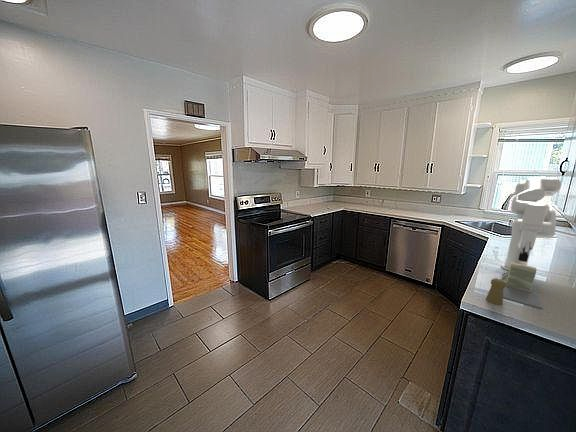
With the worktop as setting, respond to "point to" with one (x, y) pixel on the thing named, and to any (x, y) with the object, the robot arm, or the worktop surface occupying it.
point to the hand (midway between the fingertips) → (522, 260)
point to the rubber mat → (522, 296)
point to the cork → (496, 292)
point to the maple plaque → (521, 276)
